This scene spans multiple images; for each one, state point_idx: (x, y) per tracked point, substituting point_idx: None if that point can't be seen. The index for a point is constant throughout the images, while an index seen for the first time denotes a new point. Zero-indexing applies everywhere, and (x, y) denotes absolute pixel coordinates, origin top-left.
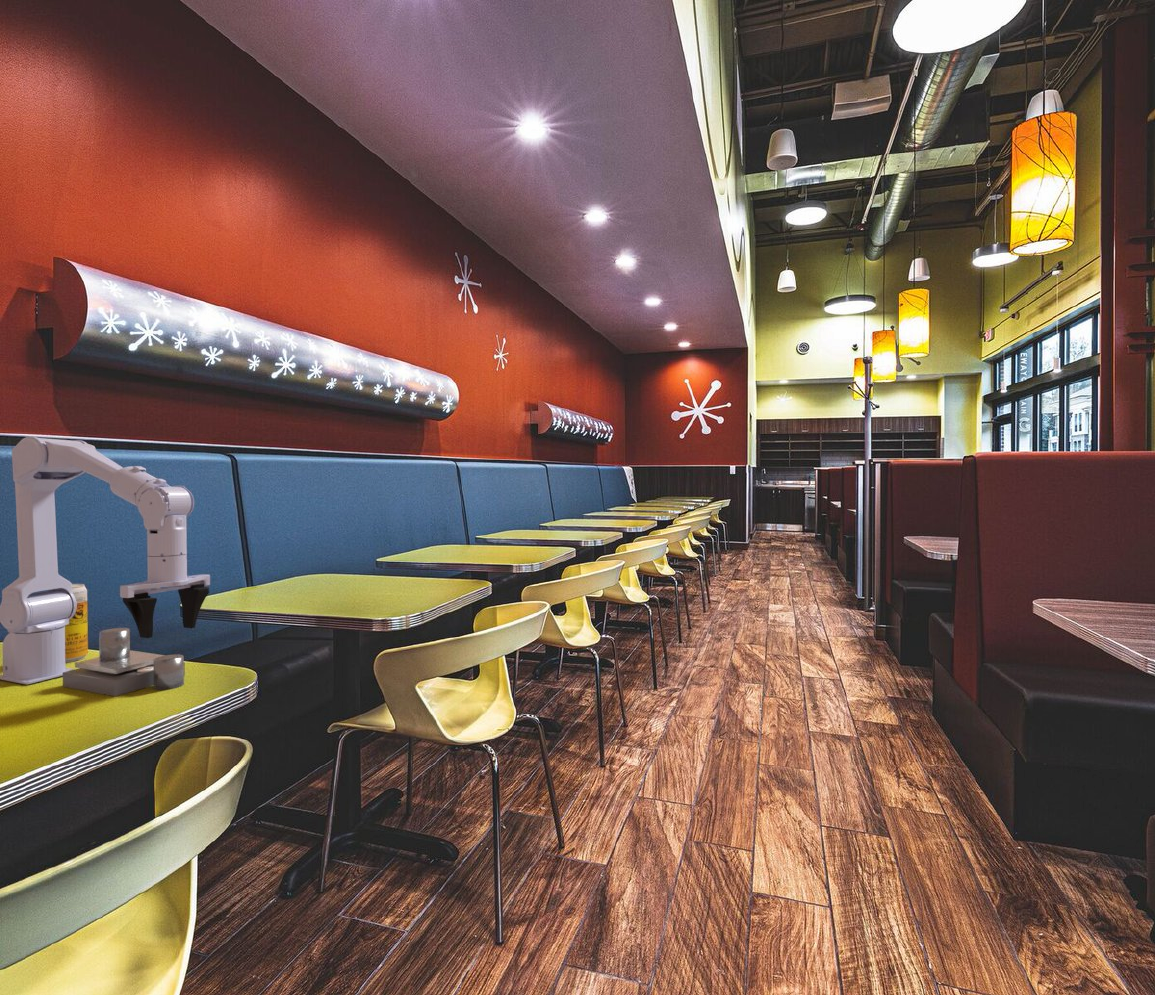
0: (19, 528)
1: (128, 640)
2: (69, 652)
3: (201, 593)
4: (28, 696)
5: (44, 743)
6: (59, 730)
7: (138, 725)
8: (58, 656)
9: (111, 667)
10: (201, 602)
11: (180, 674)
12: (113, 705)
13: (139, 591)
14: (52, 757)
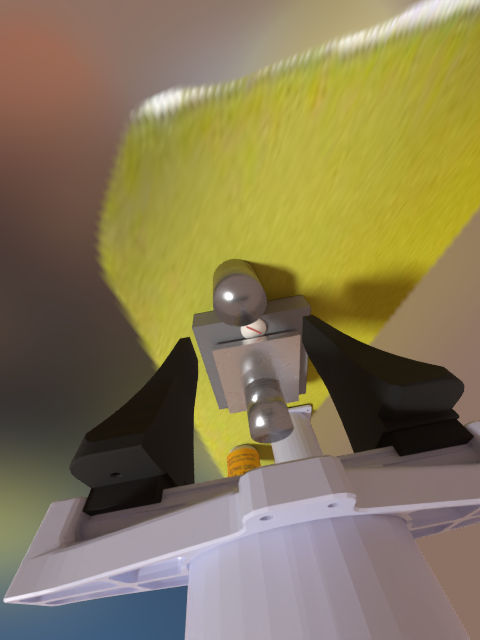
0: None
1: (255, 406)
2: (249, 455)
3: (131, 426)
4: None
5: None
6: (436, 194)
7: (409, 56)
8: None
9: (295, 349)
10: (141, 394)
11: (226, 268)
12: (330, 252)
13: (436, 463)
14: None
